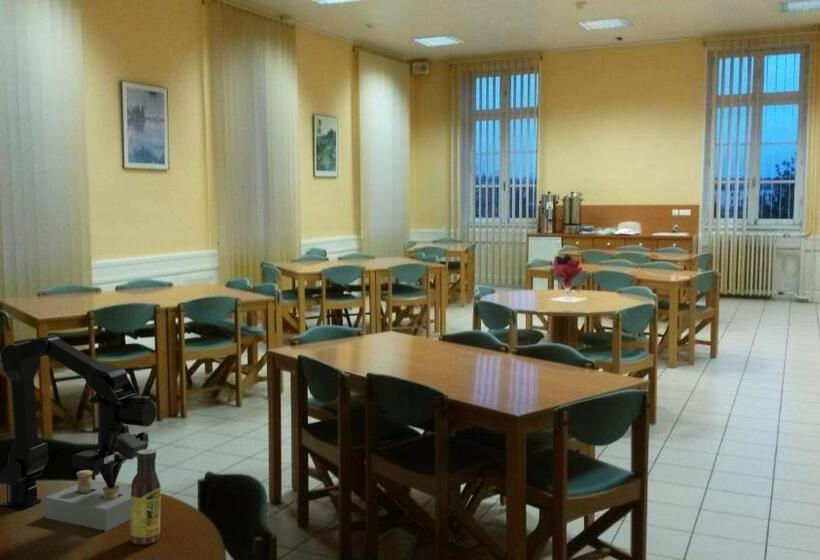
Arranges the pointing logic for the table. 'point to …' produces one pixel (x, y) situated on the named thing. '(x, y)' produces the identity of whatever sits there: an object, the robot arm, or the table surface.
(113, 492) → the peg
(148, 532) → the sauce bottle
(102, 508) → the board
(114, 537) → the table surface
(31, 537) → the table surface
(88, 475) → the peg
